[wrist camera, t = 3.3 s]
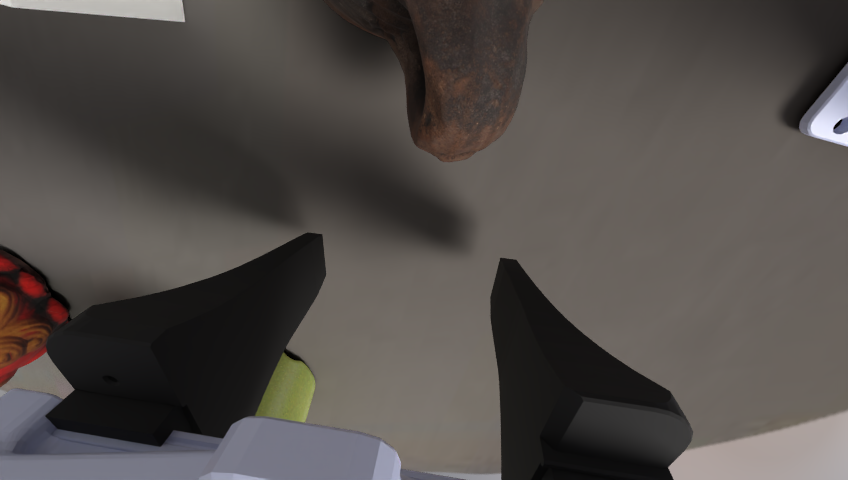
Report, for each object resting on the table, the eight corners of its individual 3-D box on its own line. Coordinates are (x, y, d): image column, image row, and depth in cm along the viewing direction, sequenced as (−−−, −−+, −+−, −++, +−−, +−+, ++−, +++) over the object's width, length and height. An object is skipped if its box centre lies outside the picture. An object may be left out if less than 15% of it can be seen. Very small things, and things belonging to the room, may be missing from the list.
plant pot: (354, 417, 23) (301, 591, 16) (236, 410, 24) (136, 567, 17) (320, 322, 18) (221, 507, 11) (176, 320, 20) (3, 483, 12)
